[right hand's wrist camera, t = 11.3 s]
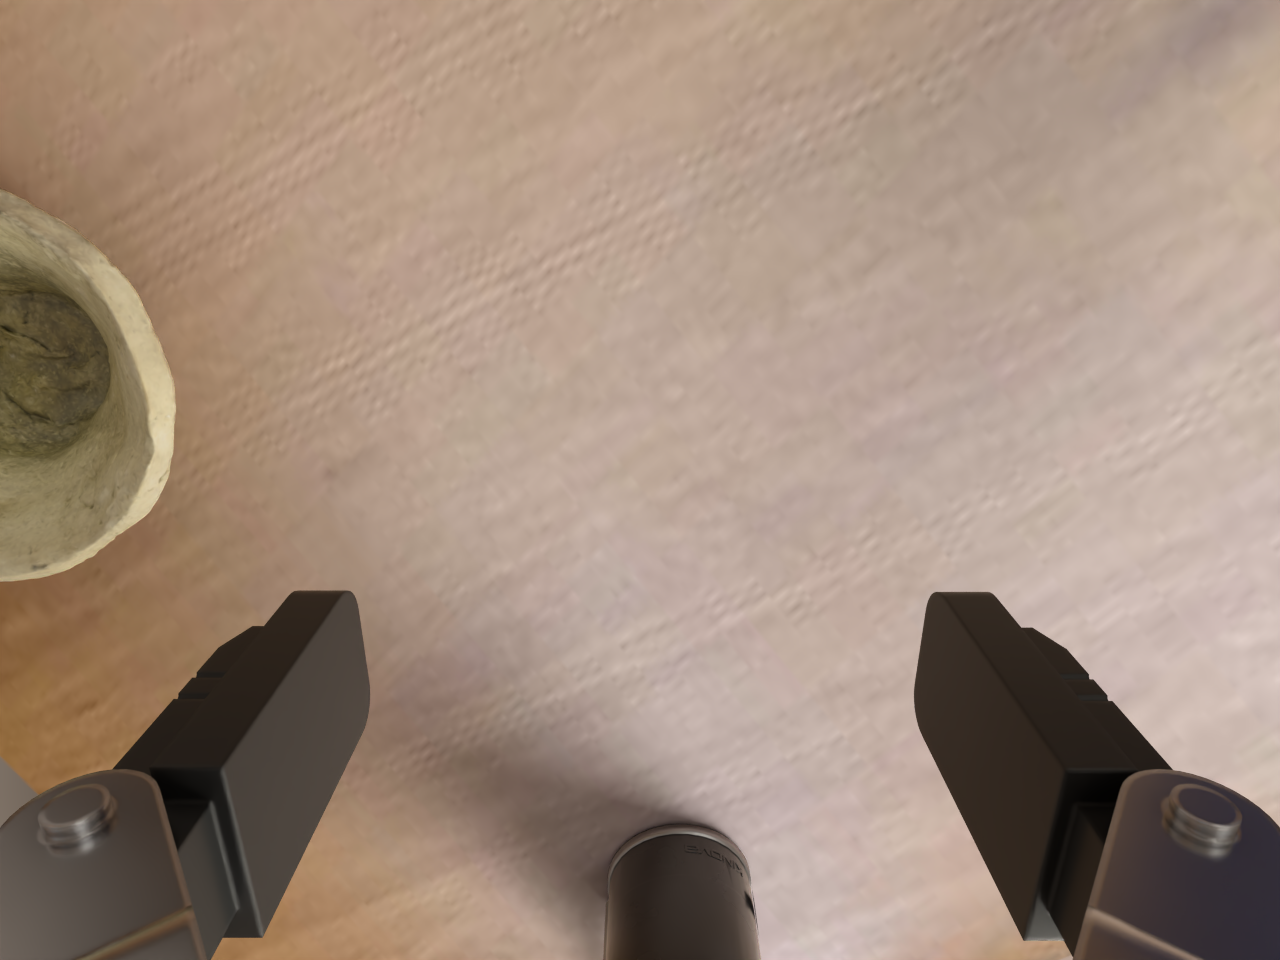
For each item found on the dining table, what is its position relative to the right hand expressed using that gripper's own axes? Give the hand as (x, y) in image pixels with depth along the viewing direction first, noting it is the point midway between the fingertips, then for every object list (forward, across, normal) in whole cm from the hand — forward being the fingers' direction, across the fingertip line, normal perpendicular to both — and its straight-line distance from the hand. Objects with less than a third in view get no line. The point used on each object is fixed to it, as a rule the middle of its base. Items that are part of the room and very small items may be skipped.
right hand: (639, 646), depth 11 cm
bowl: (+30, +29, +2) cm, 42 cm away
